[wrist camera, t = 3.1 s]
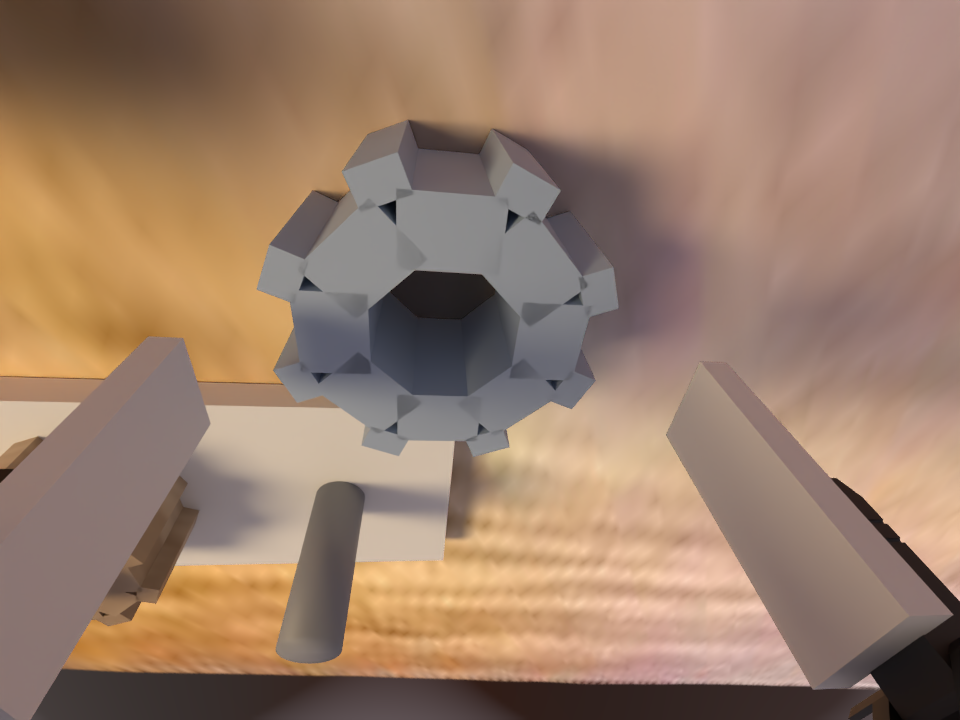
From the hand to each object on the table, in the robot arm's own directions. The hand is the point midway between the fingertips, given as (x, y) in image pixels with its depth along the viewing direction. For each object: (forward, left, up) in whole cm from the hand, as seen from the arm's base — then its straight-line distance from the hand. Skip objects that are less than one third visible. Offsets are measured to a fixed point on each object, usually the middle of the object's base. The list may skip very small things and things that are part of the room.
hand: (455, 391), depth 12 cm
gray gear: (0, 0, -7) cm, 7 cm away
